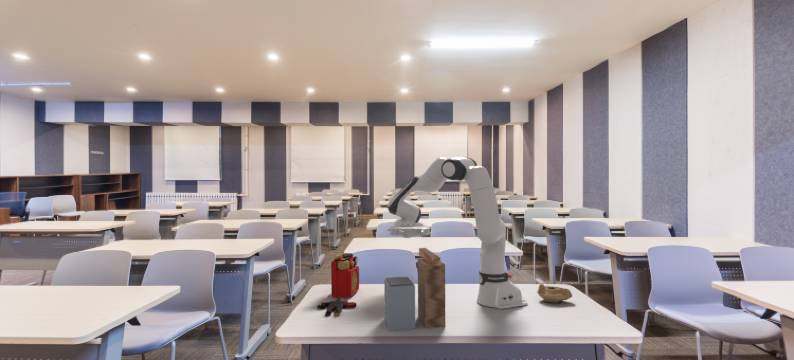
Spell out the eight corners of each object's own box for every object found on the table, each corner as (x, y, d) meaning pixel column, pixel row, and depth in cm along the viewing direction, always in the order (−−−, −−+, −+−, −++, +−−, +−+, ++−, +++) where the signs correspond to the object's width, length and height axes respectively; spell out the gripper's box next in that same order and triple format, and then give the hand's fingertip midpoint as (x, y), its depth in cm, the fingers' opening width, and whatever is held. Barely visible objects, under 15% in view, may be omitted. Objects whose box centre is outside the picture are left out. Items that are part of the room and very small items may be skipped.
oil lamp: (576, 305, 168) (576, 287, 168) (543, 305, 167) (543, 287, 167) (564, 297, 179) (564, 280, 179) (534, 297, 178) (533, 281, 178)
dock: (408, 317, 153) (408, 276, 154) (415, 328, 142) (414, 284, 142) (384, 319, 152) (384, 277, 152) (389, 330, 140) (389, 285, 140)
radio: (350, 299, 178) (350, 257, 178) (330, 298, 180) (330, 256, 180) (360, 289, 193) (360, 251, 193) (341, 288, 195) (341, 250, 195)
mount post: (436, 315, 156) (436, 258, 156) (445, 326, 144) (445, 264, 144) (418, 316, 154) (417, 258, 154) (425, 327, 142) (425, 265, 142)
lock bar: (425, 254, 163) (425, 247, 163) (440, 265, 141) (440, 257, 141) (418, 254, 163) (418, 248, 163) (432, 266, 141) (432, 258, 141)
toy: (358, 307, 167) (358, 301, 167) (334, 319, 153) (334, 312, 153) (332, 302, 175) (332, 295, 175) (307, 312, 161) (307, 306, 161)
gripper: (387, 223, 192) (392, 226, 178) (425, 222, 196) (433, 226, 182) (386, 235, 192) (391, 240, 178) (425, 234, 196) (432, 239, 182)
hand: (413, 233), depth 180 cm, fingers open, 8 cm apart
